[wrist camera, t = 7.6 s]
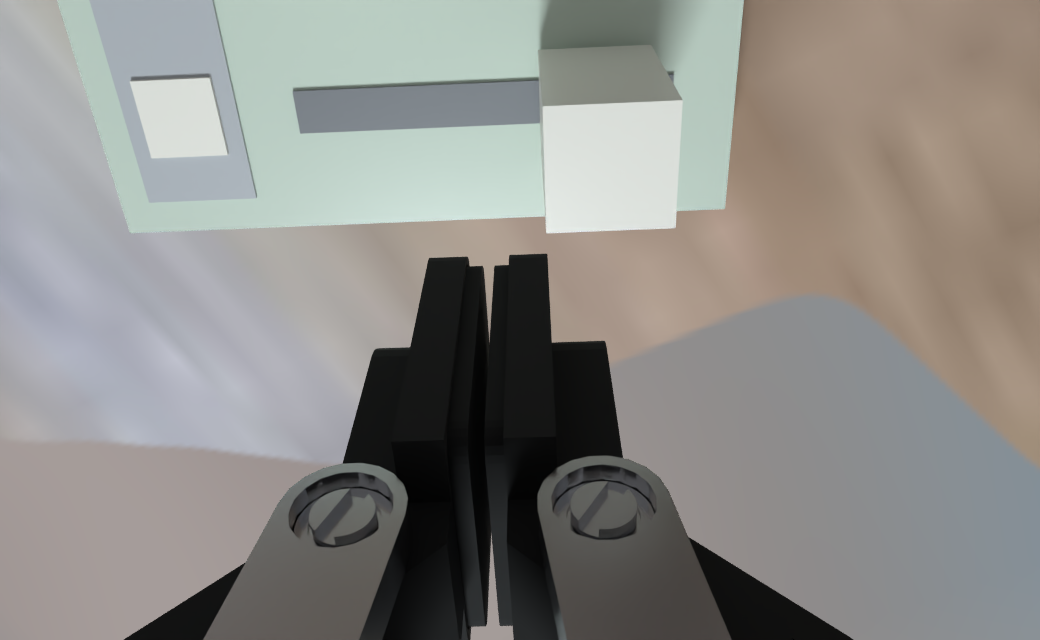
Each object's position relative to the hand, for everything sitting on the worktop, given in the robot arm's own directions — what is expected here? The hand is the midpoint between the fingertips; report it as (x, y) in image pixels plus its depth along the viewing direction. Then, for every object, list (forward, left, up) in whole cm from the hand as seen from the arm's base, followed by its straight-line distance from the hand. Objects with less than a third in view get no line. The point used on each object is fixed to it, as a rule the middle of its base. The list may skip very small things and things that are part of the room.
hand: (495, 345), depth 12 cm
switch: (-2, 0, -13) cm, 13 cm away
